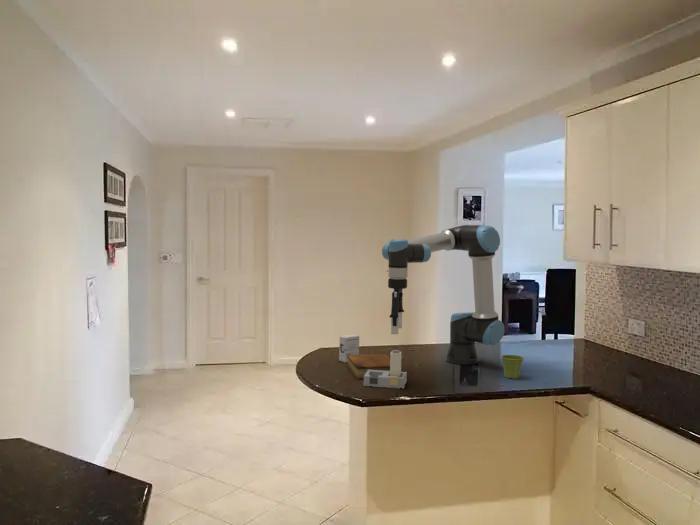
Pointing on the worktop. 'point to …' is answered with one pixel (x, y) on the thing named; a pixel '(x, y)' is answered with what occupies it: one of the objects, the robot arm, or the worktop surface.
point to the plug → (395, 363)
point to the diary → (367, 363)
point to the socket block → (384, 379)
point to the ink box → (348, 347)
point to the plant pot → (512, 365)
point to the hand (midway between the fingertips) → (396, 331)
